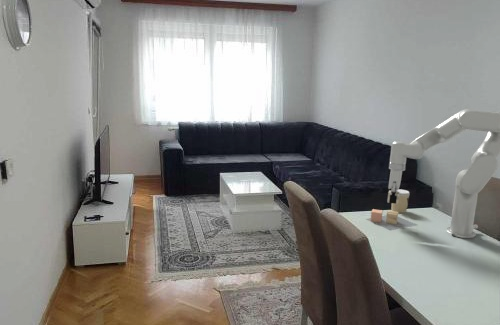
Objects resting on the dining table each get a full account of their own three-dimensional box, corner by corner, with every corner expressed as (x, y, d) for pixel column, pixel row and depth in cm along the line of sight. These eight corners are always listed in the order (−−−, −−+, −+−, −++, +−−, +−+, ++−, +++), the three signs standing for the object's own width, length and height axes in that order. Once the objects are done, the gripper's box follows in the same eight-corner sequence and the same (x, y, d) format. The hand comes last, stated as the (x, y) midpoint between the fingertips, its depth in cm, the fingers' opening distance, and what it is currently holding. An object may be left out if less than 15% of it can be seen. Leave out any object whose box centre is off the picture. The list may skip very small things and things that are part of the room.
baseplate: (392, 216, 214) (392, 214, 214) (418, 226, 199) (418, 224, 199) (365, 220, 206) (365, 219, 206) (389, 232, 191) (390, 230, 191)
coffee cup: (410, 214, 217) (412, 193, 215) (393, 214, 217) (395, 193, 215) (403, 209, 227) (406, 189, 224) (387, 209, 227) (389, 188, 224)
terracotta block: (371, 218, 207) (372, 209, 206) (381, 219, 206) (382, 210, 204) (370, 221, 203) (371, 211, 202) (380, 222, 201) (381, 213, 200)
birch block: (388, 199, 204) (389, 190, 203) (398, 201, 202) (399, 191, 201) (387, 202, 199) (388, 192, 198) (397, 203, 197) (398, 194, 196)
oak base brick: (386, 219, 206) (387, 210, 205) (397, 221, 204) (398, 212, 203) (385, 222, 201) (386, 213, 200) (396, 224, 199) (397, 214, 198)
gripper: (390, 162, 206) (386, 196, 210) (387, 168, 190) (383, 204, 194) (406, 164, 203) (401, 198, 207) (404, 170, 188) (399, 207, 191)
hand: (393, 201), depth 200 cm, fingers closed on birch block, 4 cm apart
